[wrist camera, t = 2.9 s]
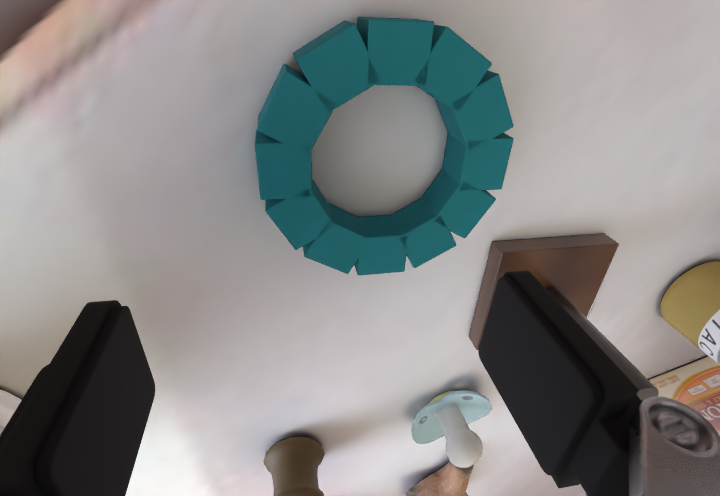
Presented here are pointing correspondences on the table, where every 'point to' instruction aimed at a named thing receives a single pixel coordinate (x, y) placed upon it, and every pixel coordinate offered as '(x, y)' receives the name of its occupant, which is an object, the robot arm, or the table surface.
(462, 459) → the pacifier
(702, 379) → the coffeecake box
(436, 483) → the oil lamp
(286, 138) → the ring
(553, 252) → the peg stand
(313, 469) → the kendama
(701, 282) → the patterned cylinder
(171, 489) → the table surface
